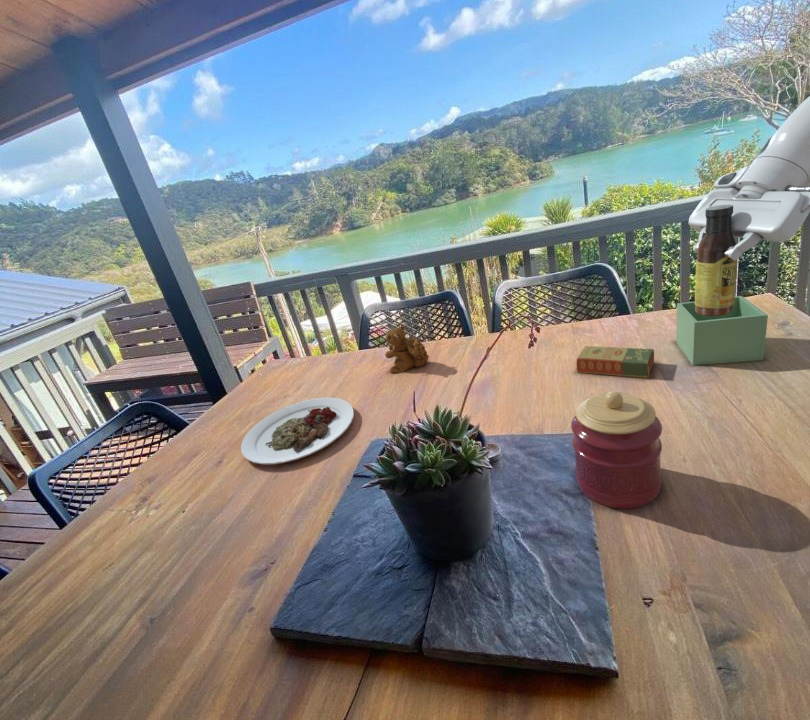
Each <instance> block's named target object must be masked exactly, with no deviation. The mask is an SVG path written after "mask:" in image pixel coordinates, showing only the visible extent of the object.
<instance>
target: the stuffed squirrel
mask: <svg viewBox="0 0 810 720" xmlns="http://www.w3.org/2000/svg"><path fill="white" fill-rule="evenodd" d="M388 344H389V346H388ZM385 346H388V350H387V351H386V352H385V354H384V356H385V358H386V359H392V358H394V362H393V366H391V367H390V369H389V372H390V373H392V374H395V373H404V372H407V371H409V370H411V369H412V368H422V367H423V366H424V365H425V364H426V363H428V361H429V357H430V355H428V352H427V350H426V347H425V345H424V344H423V343H422V342H421V341H420V340H419V339H418V337H410V338H409V339H407V337H406V334H405V326H404V325H401V326H399V327H394V328H391V329H390V330H389V331H388V332H387V333H386V335H385Z"/></svg>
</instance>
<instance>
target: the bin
mask: <svg viewBox="0 0 810 720" xmlns="http://www.w3.org/2000/svg"><path fill="white" fill-rule="evenodd" d="M768 318H769V315H768V314H767V313H766V312H765V311H763V310H761V309H760V308H759V307H758V306H756V305H755V304H753V303H752V302H751V301H749V300H748V299H747V298H745V297H744V296H742V295H737V296H736V295H735V297H734V304H733V309H732V311H731V312H730V313H728V314H726V315H722V316H715V317H712V316H702V315H699V314H697V312H696V311H695V300H694V301H686V302H677V303H676V331H675V332H676V335H675V338H676V339H675V343H676V344H677V345H678V347H679V348H680V350H681V351H682V353H683V354H684V355H685V357H686V358H687V359H688V361H689V362H690V364H691V365H692V366H700V365H701V366H703V365H714V364H725V363H726V364H727V363H740V362H749V361H750V362H751V361H753V362H754V361H763V360H764V359H765V357H764V356H765V348H766V338H767V327H768V320H769V319H768Z"/></svg>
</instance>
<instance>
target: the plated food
mask: <svg viewBox="0 0 810 720" xmlns="http://www.w3.org/2000/svg"><path fill="white" fill-rule="evenodd" d="M354 415H355V410H354V409H353V406H352V404H351V403H350V402H348V401H347V400H345V399H343V398H338V397H330V396H329V397H327V396H326V397H316V398H310V399H305V400H302V401H297V402H295V403H292V404H288V405H287V406H284V407H282V408H280V409H278V410H276V411H274V412H272V413H270V414H268V415H266V417H265V418H263V419H261V420H260V421H258V422H257V423H256V424H255V425H254V426H253V427H251V428H250V429H249V431H247V433H246V434H245V435H244V437H243V439H242V442H241V443H240V444H241V445H240V451H241V455H242V456H243V457H244V459H246V460H247V461H249V462H251V463H252V464H259V465H278V464H284V463H290V462H293V461H297V460H300V459H302V458H305V457H307V456H310V455H313V454H315V453H316V452H318V451H321V450H322V449H324V448H325V447H327V446H329V445H331V444H332V443H333V442H335V441H336V440H337V439H339V438H340V437H341V436H342V435H343V434H345V432H346V431H347V430H348V428H349V427H350V426H351V424H352V422H353V420H354Z"/></svg>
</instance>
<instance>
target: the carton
mask: <svg viewBox="0 0 810 720" xmlns="http://www.w3.org/2000/svg"><path fill="white" fill-rule="evenodd" d="M654 364H655V351H654V349H653V348H639V347H638V348H637V347H613V346H596V345H595V346H594V345H593V346H592V345H586V346H584V347H583V348H582V350H581V351H580V353H579V355H578V356H577V358H576V372H577V373H580V374H581V373H582V374H593V375H594V374H595V375H607V376H616V377H628V378H639V379H649V378H650V376H651V372H652V369H653V367H654Z"/></svg>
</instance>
